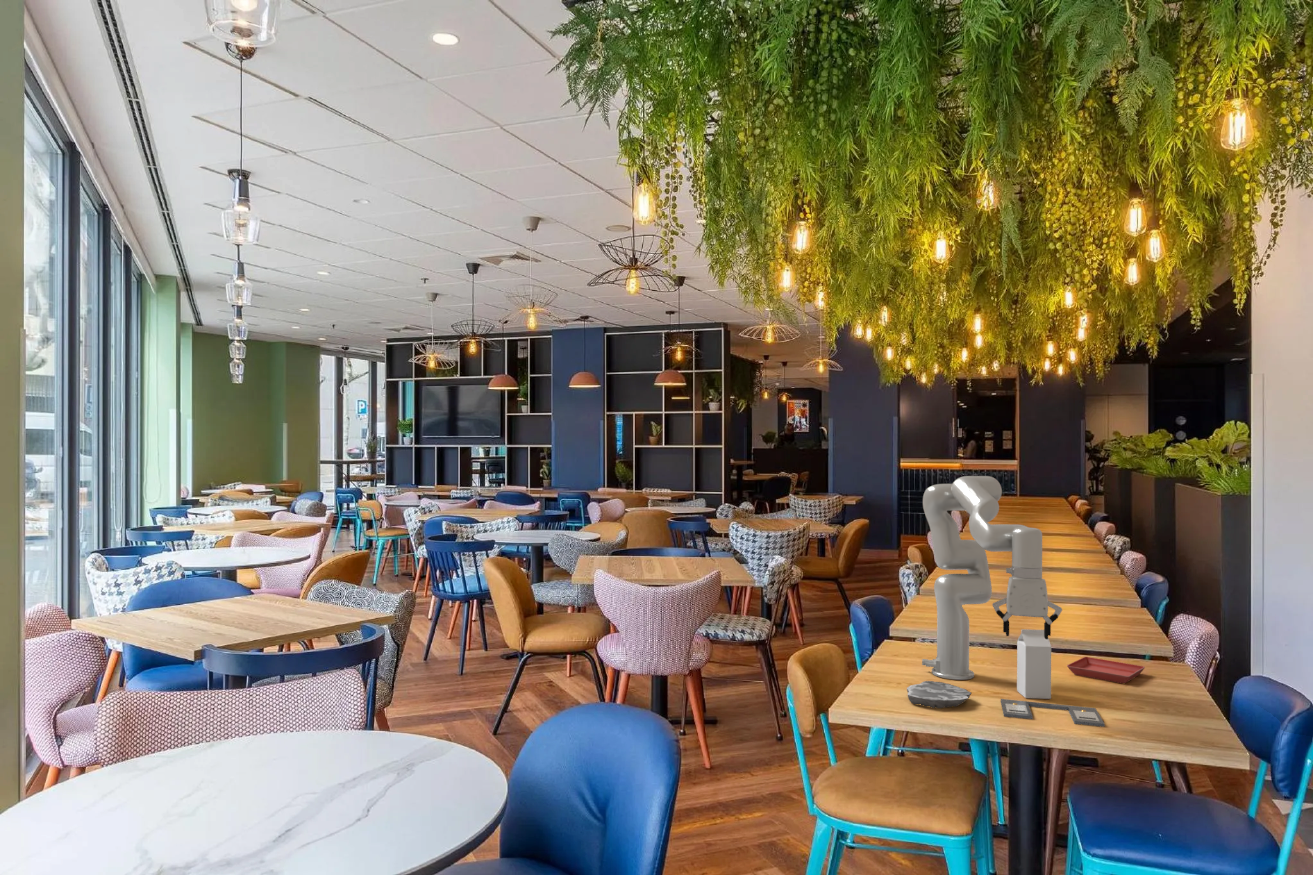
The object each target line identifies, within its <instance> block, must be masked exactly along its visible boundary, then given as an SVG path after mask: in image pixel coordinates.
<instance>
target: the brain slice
mask: <svg viewBox="0 0 1313 875" xmlns="http://www.w3.org/2000/svg"><path fill="white" fill-rule="evenodd" d="M906 691H907V698H908V701H909V702H910V703H911V704H912V703H913V705H915V704H921V705H920V706H923V705H924V707H927V706H930V707H929V708H931V707H932V708H931V709H944V708H953V707H952V706H954V707H958V706H960V705H961V704H963V703H965V702H966V701H967V700H969V698H970V697H971V695H972V691H969V690H967V688H966V689H965V688H962V687H960V686H957V685H954V684H951V683H946V682H942V681H933V680H924V681H922V682H921V683H917V684H911V685H909V686H907V687H906ZM935 707H936V708H935Z"/></svg>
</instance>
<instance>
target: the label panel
mask: <svg viewBox="0 0 1313 875" xmlns="http://www.w3.org/2000/svg"><path fill="white" fill-rule="evenodd" d="M1000 704H1001V710H1002V715H1003V717H1006V718H1016V719H1025V720H1034V716H1033V714H1032V711H1031V708H1040V709H1041V708H1042V709H1049V710H1051V709H1052V710H1061V711H1063V710H1064V711H1068V713H1069V715H1070V717H1071V719H1072V721H1073V723H1074V725H1081V724H1082V725H1083V726H1090V727H1091V726H1092V727H1100V726H1101V727H1102V728H1105V726H1106V725H1105V722H1104V721H1103V718H1102V717H1101V715H1100V713H1099V712H1098V710H1097V709H1096V708H1095V707H1089V706H1078V705H1077V706H1076V705H1069V704H1068V705H1067V704H1058V703H1047V702H1036V701H1027V700H1018V699H1017V700H1015V699H1009V698H1008V699H1007V698H1005V699H1004V698H1000ZM1029 706H1030V707H1029ZM1082 725H1081V726H1082Z"/></svg>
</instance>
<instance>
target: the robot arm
mask: <svg viewBox="0 0 1313 875" xmlns="http://www.w3.org/2000/svg"><path fill="white" fill-rule="evenodd" d="M1002 494H1003V490H1002V486H1001V484H1000V482H999V481H998V480H997V479H996V478H994V477H993V476H989V475H979V476H978V475H968V476H967V475H966V476H965V475H964V476H961V477H958V478H956V479H955V480H954V481H953V482H952V483H938V484H933V485H931V486H929V487H927V488H925V491H924V493H923V496H922V508H923V512H924V514H925V518H926V521H927V524H928V526H929V530H930V536H931V541H932V549H933V556H934V561H935V564H936V566H937V567H938V568H940V569H942V570H946V571H962V570H964V571H965V570H966V571H967V573H947V574H942V575H940V576H938V577H937V578H936V579H935V582H934V586H933V588H934V589H933V590H934V597H935V603H936V618H937V620H936V625H937V626H936V633H937V634H936V656H935V658H932V659H925V658H922V659H921V665H922V666H925V667H927V668H930V667H932V668H931V673H932V675H933V676H936V677H938V678H943V679H945V680H946V679H947V680H956V681H961V680H962V681H963V680H965V681H966V680H971V679H973V678H974V677H975V672H974V671H973V670H970V619H969V618H970V617H969V616H968V614H967V612H966V610H965V609H964V608H963V606H965V605H983V604H987V603H988V602H989V601H990V600H991V598H992V594H993V590H992V581H991V580H992V579H991V573H990V569H989V567H990V566H989V561H988V557H987V556H988V555H987V552H986V551H988V552H1011V566H1010V567H1006V568H1005V572H1006V574H1010V575H1011V576H1010V577H1009V578H1008V582H1007V588H1006V589H1007V590H1006V597H1004V598H1002V599H999V600H997V601H994V602H993V603H992V604H991V605H992V607H993V609H994V611H995V613H996V615H998V616H999V618H1000V619H1001V620H1002V628H1003V630H1002V632H1003V633H1005V636H1006V637H1010V620H1009V619H1010V618H1011V617H1012V616H1014V617H1015V616H1016V617H1017V616H1018V617H1027V618H1028V617H1031V618H1042V619H1043V620H1044V623H1043V630H1044V637H1045V639H1049V636H1051V634H1052V633H1051V632H1052V629H1051V628H1052V624H1053V623H1054V622H1056V620H1057V619H1058V618H1059V617H1060V615H1061V613H1062V611H1063V608H1062V607H1061V606H1059V605H1057V604H1055V603H1054V602H1051V601H1049V599H1048V588H1047V581H1046V579H1045V578H1043V532H1042V530H1041V529H1039V528H1036V527H1029V526H1026V525H1024V524H1008V523H1007V524H1006V523H1005V524H1003V523H1001V524H991V523H989V522H991V521H992V520H994V519H995V518H996V517H997V516H998V513H999V510H1000V505H999V502H998V501H1000V499H1001V498H1002ZM948 511H966V512H967V513H968V514H969V519H968V530H969V533H970V535H971V536H972V538H973V539H961V535H960V532H959V527H958V526H959V525H958V523H957V522H956V520H955V519H954V517H953V516H952V515H950V513H949V512H948ZM1005 604H1006V605H1005ZM1004 605H1005V606H1006V611H1005V612H1002V611H1001V609H1000V606H1004ZM1049 608H1051V609H1052V610H1054V612H1053V613H1052V614H1051V615H1050V616H1048V614H1049V613H1048V612H1049Z"/></svg>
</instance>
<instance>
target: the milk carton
mask: <svg viewBox="0 0 1313 875" xmlns="http://www.w3.org/2000/svg"><path fill="white" fill-rule="evenodd" d="M1020 632H1021V633H1020V635H1019V636H1018V639H1017V643H1016V646H1017V648H1016V651H1017V653H1016V664H1017V665H1016V691H1017V692H1018V693H1019V694H1020V695H1021V696H1023V697H1024V699H1041V700H1043V699H1045V700H1051V699H1052V644H1051V643H1050V639H1049V638H1048V639H1045V637H1044V629H1029V628H1028V629H1027V628H1026V629H1021V631H1020Z"/></svg>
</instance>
